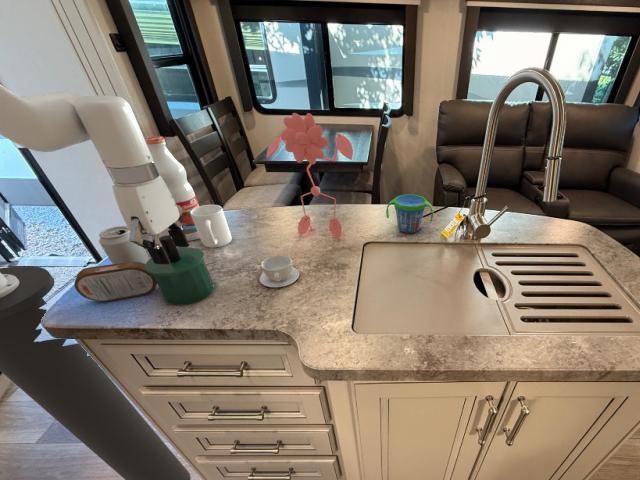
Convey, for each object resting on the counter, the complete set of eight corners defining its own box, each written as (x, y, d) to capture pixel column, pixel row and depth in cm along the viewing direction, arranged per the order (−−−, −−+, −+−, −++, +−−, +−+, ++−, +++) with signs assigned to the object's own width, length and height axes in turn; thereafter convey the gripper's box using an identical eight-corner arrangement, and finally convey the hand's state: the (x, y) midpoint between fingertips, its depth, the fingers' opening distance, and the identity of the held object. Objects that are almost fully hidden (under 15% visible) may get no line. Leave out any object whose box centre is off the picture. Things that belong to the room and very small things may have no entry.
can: (156, 275, 83) (133, 233, 76) (121, 284, 80) (93, 241, 72) (153, 262, 88) (132, 221, 80) (120, 270, 84) (95, 228, 77)
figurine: (289, 226, 108) (265, 106, 86) (363, 234, 105) (357, 112, 83) (266, 247, 96) (232, 114, 75) (349, 257, 93) (338, 121, 71)
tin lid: (189, 279, 69) (176, 251, 65) (135, 277, 69) (119, 250, 64) (214, 252, 78) (205, 226, 74) (167, 250, 78) (154, 225, 74)
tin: (164, 286, 80) (149, 256, 74) (162, 293, 77) (146, 263, 72) (90, 299, 75) (68, 269, 69) (86, 307, 72) (62, 276, 67)
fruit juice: (189, 226, 106) (151, 133, 88) (215, 230, 104) (181, 135, 87) (168, 239, 98) (121, 140, 81) (195, 243, 97) (154, 143, 80)
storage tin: (201, 305, 74) (187, 275, 69) (156, 304, 74) (138, 273, 69) (221, 280, 82) (210, 251, 77) (180, 279, 82) (167, 249, 77)
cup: (232, 233, 103) (222, 203, 96) (232, 251, 94) (221, 218, 88) (203, 237, 100) (191, 206, 94) (201, 256, 91) (187, 223, 85)
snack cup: (382, 232, 106) (382, 202, 100) (391, 219, 114) (391, 191, 108) (428, 239, 104) (431, 208, 97) (434, 225, 112) (437, 197, 105)
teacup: (261, 269, 87) (257, 254, 84) (299, 265, 89) (296, 250, 86) (258, 291, 79) (253, 275, 76) (299, 286, 81) (296, 270, 78)
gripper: (144, 159, 67) (178, 236, 78) (77, 187, 54) (130, 275, 65) (179, 161, 68) (208, 237, 79) (122, 189, 54) (167, 276, 65)
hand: (172, 254), depth 72 cm, fingers open, 6 cm apart
